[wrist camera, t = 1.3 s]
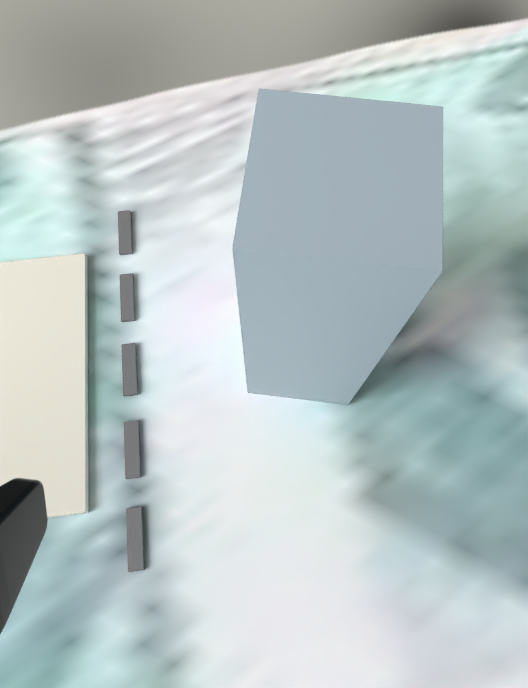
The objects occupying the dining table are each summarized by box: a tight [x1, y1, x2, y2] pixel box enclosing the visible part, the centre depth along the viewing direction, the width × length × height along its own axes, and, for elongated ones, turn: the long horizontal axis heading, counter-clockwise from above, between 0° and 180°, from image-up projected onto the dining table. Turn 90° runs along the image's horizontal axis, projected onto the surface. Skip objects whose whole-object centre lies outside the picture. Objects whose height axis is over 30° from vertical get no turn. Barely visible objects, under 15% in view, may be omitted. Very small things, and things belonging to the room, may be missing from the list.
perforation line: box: [118, 210, 145, 572], centre depth 23 cm, size 17×1×1 cm, turn 7°
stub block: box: [233, 89, 443, 405], centre depth 17 cm, size 4×4×12 cm
